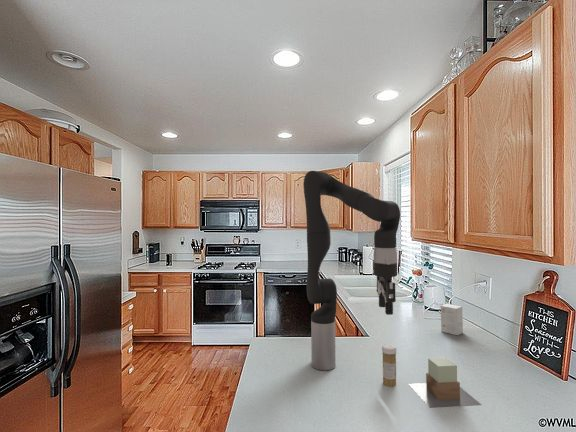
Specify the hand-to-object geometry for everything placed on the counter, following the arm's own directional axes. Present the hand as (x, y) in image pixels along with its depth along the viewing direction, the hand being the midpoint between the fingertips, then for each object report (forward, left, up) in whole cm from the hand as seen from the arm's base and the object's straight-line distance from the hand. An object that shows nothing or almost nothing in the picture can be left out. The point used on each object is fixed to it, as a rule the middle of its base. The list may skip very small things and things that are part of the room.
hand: (385, 310), depth 107 cm
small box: (-52, +54, -26) cm, 79 cm away
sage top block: (+5, +16, -20) cm, 26 cm away
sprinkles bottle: (-3, +2, -26) cm, 27 cm away
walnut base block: (+5, +16, -25) cm, 30 cm away
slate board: (+5, +16, -26) cm, 31 cm away
